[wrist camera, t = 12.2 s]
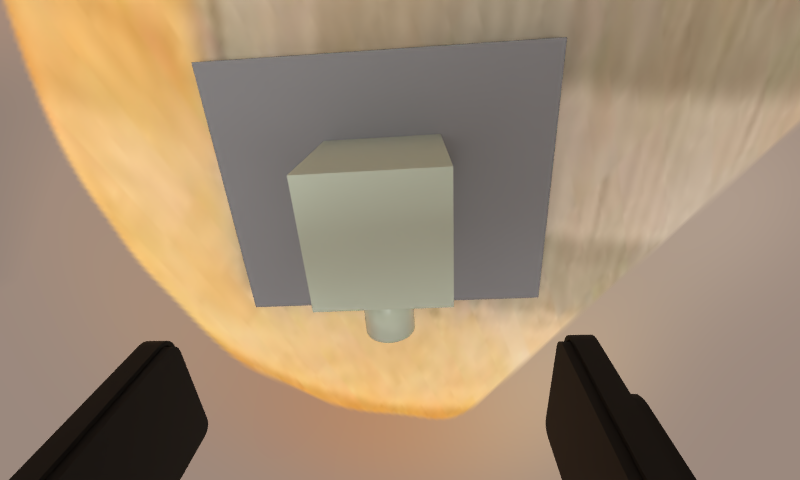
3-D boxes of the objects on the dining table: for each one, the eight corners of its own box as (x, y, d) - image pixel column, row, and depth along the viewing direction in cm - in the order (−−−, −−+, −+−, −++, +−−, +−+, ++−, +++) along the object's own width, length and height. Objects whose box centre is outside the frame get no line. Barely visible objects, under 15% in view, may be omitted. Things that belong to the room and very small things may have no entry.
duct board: (560, 38, 21) (613, 30, 15) (534, 289, 27) (564, 345, 22) (200, 62, 22) (130, 63, 16) (261, 299, 28) (225, 355, 23)
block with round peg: (323, 141, 22) (286, 175, 16) (440, 134, 22) (453, 166, 15) (345, 286, 27) (322, 362, 20) (443, 282, 26) (454, 358, 20)
